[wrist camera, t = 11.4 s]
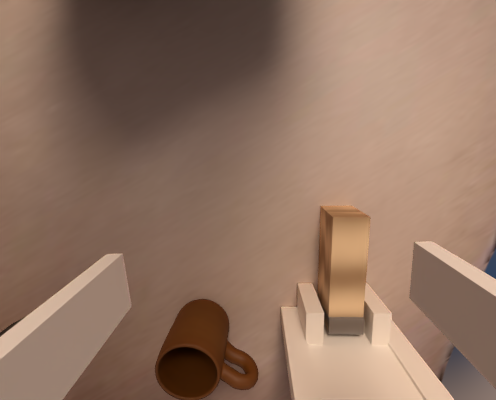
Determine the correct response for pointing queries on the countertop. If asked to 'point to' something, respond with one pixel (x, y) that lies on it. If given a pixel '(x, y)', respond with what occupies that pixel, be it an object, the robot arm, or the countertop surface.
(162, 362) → the mug
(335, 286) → the wooden block
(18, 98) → the countertop surface
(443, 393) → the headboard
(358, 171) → the countertop surface
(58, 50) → the countertop surface
